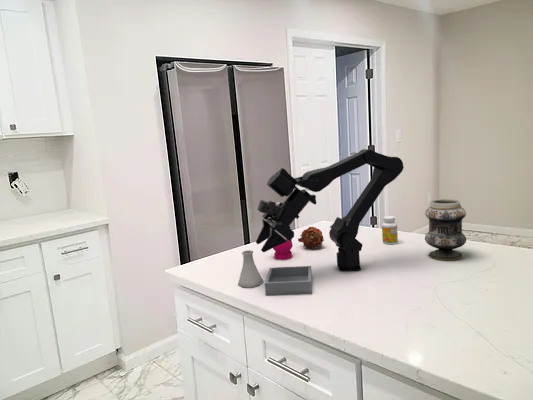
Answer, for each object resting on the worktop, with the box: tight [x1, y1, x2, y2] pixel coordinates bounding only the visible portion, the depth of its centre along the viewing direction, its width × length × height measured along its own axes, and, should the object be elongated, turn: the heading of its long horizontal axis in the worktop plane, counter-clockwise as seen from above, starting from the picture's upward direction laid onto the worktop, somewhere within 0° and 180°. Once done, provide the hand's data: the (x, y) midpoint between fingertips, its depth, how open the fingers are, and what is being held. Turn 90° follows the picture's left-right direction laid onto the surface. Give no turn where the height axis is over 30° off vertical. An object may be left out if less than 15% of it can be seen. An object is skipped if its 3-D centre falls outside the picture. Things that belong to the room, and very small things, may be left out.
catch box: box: [264, 265, 313, 296], centre depth 114 cm, size 13×13×4 cm
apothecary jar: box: [424, 198, 467, 261], centre depth 126 cm, size 12×12×18 cm
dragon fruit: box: [297, 226, 325, 249], centre depth 150 cm, size 8×8×12 cm
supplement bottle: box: [381, 215, 399, 246], centre depth 146 cm, size 5×5×10 cm
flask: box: [237, 249, 264, 289], centre depth 118 cm, size 7×7×10 cm
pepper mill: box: [272, 201, 293, 261], centre depth 139 cm, size 7×7×20 cm
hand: (259, 247), depth 117 cm, fingers open, 9 cm apart
